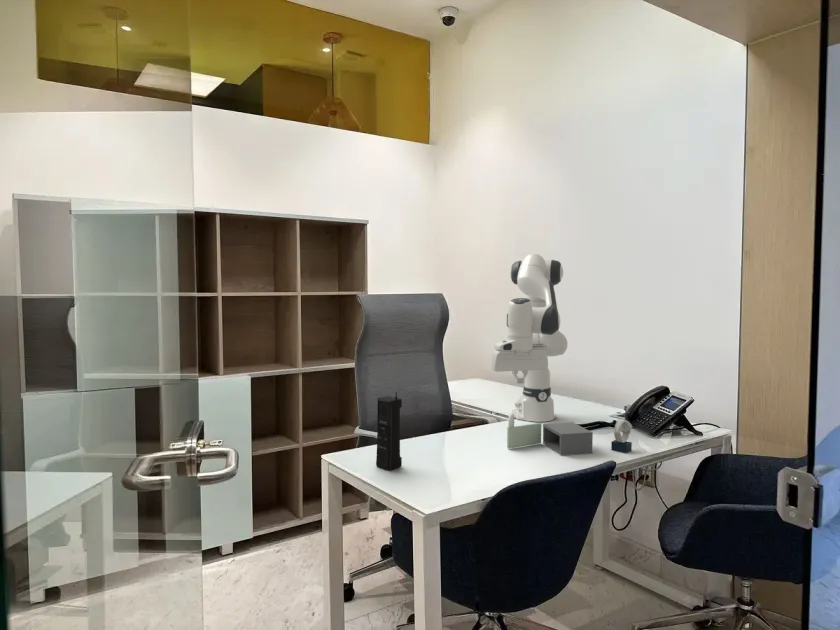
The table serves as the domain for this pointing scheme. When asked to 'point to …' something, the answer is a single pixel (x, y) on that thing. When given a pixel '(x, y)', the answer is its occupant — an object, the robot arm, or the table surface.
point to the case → (567, 438)
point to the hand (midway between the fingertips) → (519, 383)
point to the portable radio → (388, 433)
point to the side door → (522, 434)
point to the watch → (621, 442)
